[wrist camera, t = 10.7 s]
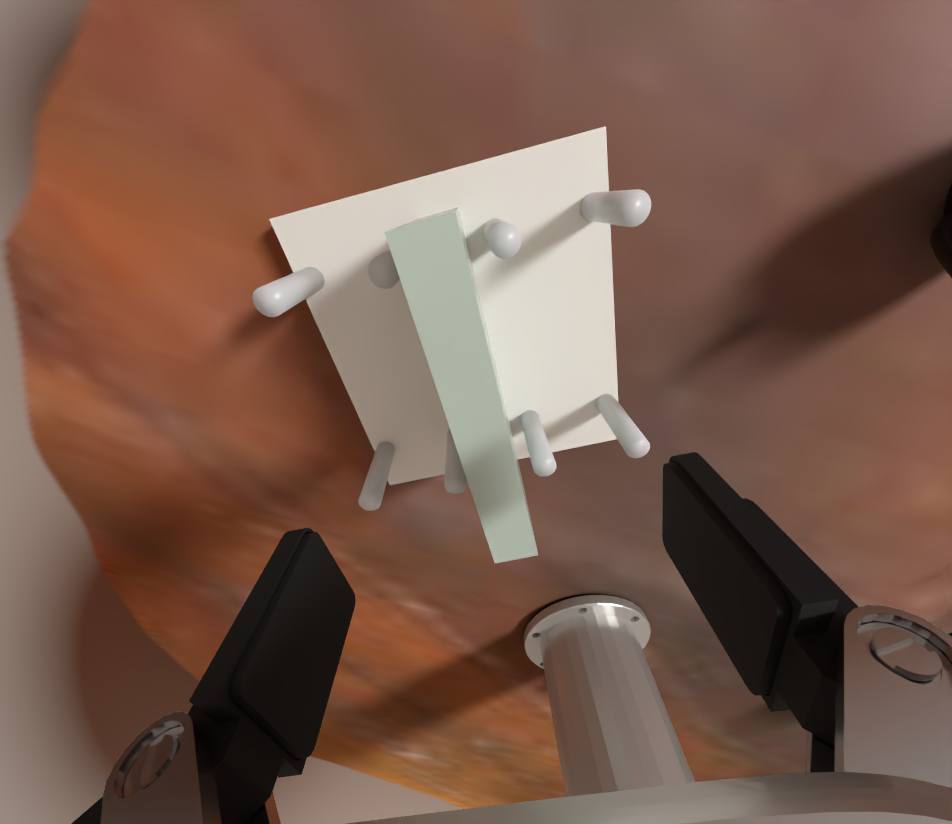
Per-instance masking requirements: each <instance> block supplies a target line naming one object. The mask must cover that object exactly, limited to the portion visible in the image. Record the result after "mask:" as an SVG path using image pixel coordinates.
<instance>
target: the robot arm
mask: <svg viewBox="0 0 952 824" xmlns="http://www.w3.org/2000/svg"><path fill="white" fill-rule="evenodd" d="M662 537H663V543H664V546H665V549H666V551H667V553H668V554H669V556H670V558H671V559H672V561H673V563H674V565H675V566H676V568H677V570H678V571H679V573H680V575H681V576H682V578H683V580H684V581H685V583H686V585H687V586H688V588H689V590H690V592H691V593H692V595H693V597H694V598H695V600H696V602H697V603H698V605H699V607H700V608H701V610H702V612H703V613H704V615H705V617H706V619H707V620H708V622H709V624H710V625H711V627H712V629H713V630H714V632H715V634H716V635H717V637H718V639H719V640H720V642H721V644H722V646H723V647H724V649H725V651H726V652H727V654H728V656H729V657H730V659H731V661H732V662H733V664H734V666H735V667H736V669H737V671H738V673H739V674H740V676H741V678H742V679H743V681H744V683H745V684H746V686H747V687H748V689H749V690H750V691H751V692H752V693H753V694H754V695H761V696H762V698H763V699H764V701H765V703H766V704H767V706H768V707H769V709H770V711H771V712H772V711H779V710H787V709H791V711H792V712H793V714H794V715H795V717H796V719H797V720H798V722H799V723H800V725H801V726H802V728H804V729H805V730H807V744H806V761H805V773H789V774H778V775H768V776H757V777H746V778H735V779H725V780H714V781H703V782H695V780H694V778H693V775H692V773H691V770H690V768H689V765H688V763H687V760H686V758H685V755H684V753H683V750H682V748H681V745H680V743H679V740H678V738H677V736H676V733H675V731H674V728H673V726H672V723H671V721H670V718H669V716H668V713H667V711H666V708H665V706H664V703H663V701H662V698H661V696H660V693H659V691H658V688H657V686H656V683H655V681H654V678H653V676H652V673H651V671H650V668H649V666H648V663H647V661H646V658H645V656H644V653H643V651H642V650H643V648H644V647H645V646H646V644H647V642H648V640H649V638H650V633H651V630H650V625H649V622H648V620H647V618H646V616H645V614H644V612H643V611H642V610H641V609H640V608H639V607H638V606H637V605H635V604H634V603H632V602H630V601H628V600H625V599H623V598H619V597H615V596H608V595H585V596H578V597H573V598H569V599H566V600H563V601H560V602H557V603H555V604H552V605H551V606H549V607H547V608H545V609H543V610H542V611H541V612H539V613H538V614H537V615H536V616H535V617H534V618H533V619H532V620H531V621H530V622H529V623H528V625H527V627H526V629H525V632H524V646H525V651H526V654H527V656H528V657H529V659H530V660H531V661H532V662H533V663H535V664H536V665H537V666H539V667H541V668H543V669H544V672H545V678H546V684H547V690H548V695H549V701H550V707H551V713H552V718H553V724H554V730H555V735H556V741H557V747H558V753H559V758H560V764H561V770H562V776H563V781H564V787H565V793H566V797H562V798H554V799H545V800H537V801H529V802H520V803H512V804H504V805H495V806H487V807H479V808H470V809H462V810H454V811H446V812H437V813H429V814H421V815H413V816H405V817H396V818H389V819H380V820H372V821H364V822H356V823H349V824H952V637H951V636H950V635H949V634H948V633H946V632H945V631H944V630H942V629H941V628H939V627H937V626H935V625H934V624H932V623H930V622H929V621H927V620H925V619H923V618H921V617H919V616H916V615H914V614H911V613H909V612H906V611H904V610H900V609H896V608H892V607H888V606H881V605H865V606H861V607H858V606H857V605H856V604H855V603H854V602H853V601H852V600H851V599H850V598H849V597H848V596H847V595H846V594H845V593H844V592H843V591H842V590H841V589H840V588H839V587H838V586H837V585H836V584H835V583H834V582H833V581H832V580H831V579H830V578H829V577H828V576H827V575H826V574H825V573H824V572H823V571H822V570H821V569H820V568H819V567H818V566H817V565H816V564H815V563H814V562H813V561H812V560H811V559H810V558H809V557H808V556H807V555H806V554H805V553H804V552H803V551H802V550H801V549H800V548H799V547H798V546H797V545H796V544H795V543H794V542H793V541H792V540H791V539H790V538H789V537H788V536H787V535H786V534H785V533H784V532H783V531H782V530H781V529H780V528H779V527H778V526H777V525H776V524H775V523H774V522H773V521H772V520H771V519H770V518H769V517H768V516H767V515H766V514H765V513H764V512H763V511H762V510H761V509H760V508H759V507H758V506H757V505H756V504H755V503H754V502H752V501H751V500H749V499H742V498H741V497H740V496H739V495H738V494H737V493H736V492H735V491H734V490H733V489H732V488H731V487H730V486H729V485H728V484H727V483H726V482H725V481H724V480H723V479H722V478H721V476H720V475H719V474H718V473H717V472H716V471H715V470H714V469H713V468H712V467H711V466H710V465H709V464H708V463H707V462H706V461H705V460H704V459H703V458H702V457H701V456H700V455H699V454H698V453H696V452H692V453H687V454H682V455H677V456H672V457H671V458H670V460H669V463H666V464H664V466H663V534H662ZM354 607H355V594H354V592H353V590H352V588H351V587H350V585H349V583H348V582H347V580H346V578H345V577H344V575H343V573H342V572H341V570H340V568H339V567H338V565H337V563H336V562H335V560H334V558H333V557H332V555H331V553H330V552H329V550H328V548H327V547H326V545H325V543H324V542H323V540H322V538H321V537H320V535H319V534H318V533H317V532H313V531H312V529H310V528H304V529H299V530H294V531H288V532H287V533H285V534H284V535H283V537H282V539H281V540H280V542H279V544H278V546H277V547H276V549H275V551H274V553H273V554H272V556H271V558H270V560H269V561H268V563H267V565H266V567H265V568H264V570H263V572H262V574H261V576H260V577H259V579H258V581H257V583H256V584H255V586H254V588H253V590H252V591H251V593H250V595H249V597H248V598H247V600H246V602H245V604H244V605H243V607H242V609H241V611H240V612H239V614H238V616H237V618H236V619H235V621H234V623H233V625H232V626H231V628H230V630H229V632H228V634H227V635H226V637H225V639H224V641H223V642H222V644H221V646H220V648H219V649H218V651H217V653H216V655H215V656H214V658H213V660H212V662H211V663H210V665H209V667H208V669H207V670H206V672H205V674H204V676H203V677H202V679H201V681H200V683H199V684H198V686H197V688H196V690H195V691H194V693H193V695H192V697H191V699H190V700H189V701H190V702H191V703H192V704H193V706H192V708H191V709H190V711H189V713H188V714H187V713H185V712H173V713H171V714H168V715H165V716H163V717H161V718H160V719H158V720H156V721H155V722H153V723H152V724H150V725H149V726H148V727H147V728H146V729H145V730H143V731H142V732H141V733H140V734H139V735H138V736H137V737H136V738H135V739H134V740H133V741H132V742H131V743H130V744H129V746H128V747H127V748H126V749H125V750H124V751H123V753H122V754H121V756H120V757H119V759H118V760H117V762H116V763H115V765H114V766H113V768H112V771H111V772H110V775H109V777H108V779H107V781H106V785H105V789H104V793H103V797H102V798H101V799H100V800H98V801H97V802H96V803H95V804H94V805H93V806H91V807H90V808H89V809H88V810H87V811H86V812H84V813H83V814H82V815H81V816H80V817H79V818H77V819H76V820H75V821H74V822H73V823H72V824H281V823H280V819H279V816H278V812H277V808H276V804H275V800H274V796H273V792H272V791H273V788H274V785H275V782H276V779H277V776H278V777H285V776H294V775H301V774H302V771H303V768H304V765H305V761H306V758H307V757H309V756H310V755H311V754H312V752H313V750H314V747H315V744H316V741H317V737H318V734H319V730H320V727H321V723H322V720H323V716H324V713H325V709H326V706H327V702H328V699H329V695H330V692H331V688H332V685H333V681H334V678H335V674H336V671H337V667H338V664H339V660H340V657H341V653H342V649H343V646H344V642H345V639H346V635H347V632H348V628H349V625H350V621H351V618H352V614H353V611H354Z"/></svg>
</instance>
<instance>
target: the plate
mask: <svg viewBox="0 0 952 824" xmlns="http://www.w3.org/2000/svg"><path fill="white" fill-rule="evenodd" d="M384 233H385V236H386V239H387V242H388V245H389V248H390V251H391V254H392V257H393V260H394V263H395V266H396V269H397V272H398V275H399V278H400V281H401V284H402V287H403V290H404V293H405V296H406V299H407V302H408V305H409V308H410V311H411V314H412V317H413V320H414V323H415V326H416V329H417V332H418V334H419V337H420V340H421V343H422V346H423V349H424V352H425V355H426V358H427V361H428V364H429V367H430V370H431V373H432V376H433V379H434V382H435V385H436V388H437V391H438V394H439V397H440V400H441V403H442V406H443V409H444V412H445V415H446V418H447V421H448V424H449V427H450V430H451V433H452V436H453V439H454V442H455V445H456V448H457V451H458V454H459V457H460V460H461V463H462V466H463V469H464V472H465V475H466V478H467V481H468V484H469V487H470V490H471V493H472V496H473V499H474V502H475V505H476V508H477V511H478V514H479V517H480V520H481V523H482V526H483V529H484V532H485V535H486V538H487V541H488V544H489V547H490V550H491V553H492V556H493V559H494V562H495V563H500V562H505V561H510V560H515V559H521V558H526V557H531V556H536V555H538V551H537V547H536V542H535V537H534V533H533V528H532V523H531V519H530V514H529V509H528V505H527V500H526V495H525V491H524V486H523V481H522V477H521V472H520V468H519V463H518V458H517V454H516V449H515V444H514V440H513V436H512V431H511V427H510V423H509V419H508V414H507V410H506V406H505V402H504V398H503V393H502V389H501V385H500V381H499V376H498V372H497V368H496V364H495V359H494V355H493V351H492V347H491V343H490V338H489V334H488V330H487V326H486V321H485V317H484V313H483V309H482V304H481V300H480V296H479V292H478V288H477V283H476V279H475V275H474V271H473V266H472V262H471V258H470V254H469V249H468V245H467V241H466V237H465V233H464V228H463V224H462V220H461V216H460V211H459V207H457V208H454V209H450V210H447V211H443V212H440V213H436V214H433V215H429V216H425V217H422V218H418V219H416V220H413V221H411V222H408V223H406V224H403V225H401V226H399V227H396V228H394V229H391V230H389V231H386V232H384Z"/></svg>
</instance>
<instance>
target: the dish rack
mask: <svg viewBox="0 0 952 824" xmlns="http://www.w3.org/2000/svg"><path fill="white" fill-rule="evenodd" d="M457 207H459V211H460V216H461V220H462V224H463V228H464V233H465V237H466V241H467V245H468V249H469V254H470V258H471V262H472V266H473V271H474V275H475V279H476V283H477V288H478V292H479V296H480V300H481V304H482V309H483V313H484V317H485V321H486V326H487V330H488V334H489V338H490V343H491V347H492V351H493V355H494V359H495V364H496V368H497V372H498V376H499V381H500V385H501V389H502V393H503V398H504V402H505V406H506V410H507V414H508V419H509V423H510V427H511V431H512V436H513V440H514V444H515V449H516V454H517V458H518V459H522V458H526V457H530V458H531V462H532V466H533V470H534V472H535V473H536V474H537V475H539V476H549V475H551V474H552V473H553V472H554V471H555V470H556V462H555V460H554V457H553V454H552V452H556V451H561V450H566V449H570V448H575V447H580V446H585V445H590V444H595V443H600V442H605V441H610V440H615V439H618V441H619V442H620V444H621V445H622V447H623V449H624V450H625V452H626V453H627V455H628V456H629V457H632V458H640V457H642V456H644V455H645V454H647V452H648V451H649V449H650V443H649V442H648V441H647V439H646V438H645V437H644V435H643V434H642V433H641V431H640V430H639V429H638V428H637V426H636V425H635V424H634V422H633V421H632V420H631V419H630V417H629V416H628V415H627V413H626V412H625V411H624V409H623V408H622V407H621V406H620V404H619V403H618V386H617V364H616V341H615V319H614V297H613V275H612V252H611V230H610V224H613V225H620V226H626V227H635V226H638V225H640V224H641V223H642V222H644V221H645V219H646V218H647V217H648V215H649V213H650V209H651V200H650V197H649V195H648V194H647V193H646V192H645V191H643V190H623V191H609V186H608V163H607V141H606V126H605V127H602V128H598V129H594V130H591V131H587V132H583V133H580V134H576V135H573V136H569V137H565V138H562V139H558V140H554V141H551V142H547V143H544V144H540V145H536V146H533V147H529V148H525V149H522V150H518V151H514V152H511V153H507V154H504V155H500V156H496V157H493V158H489V159H485V160H482V161H478V162H475V163H471V164H467V165H464V166H460V167H456V168H453V169H449V170H446V171H442V172H438V173H435V174H431V175H427V176H424V177H420V178H416V179H413V180H409V181H406V182H402V183H398V184H395V185H391V186H387V187H384V188H380V189H377V190H373V191H369V192H366V193H362V194H358V195H355V196H351V197H348V198H344V199H340V200H337V201H333V202H329V203H326V204H322V205H318V206H315V207H311V208H308V209H304V210H300V211H297V212H293V213H289V214H286V215H282V216H279V217H275V218H271V219H269V220H270V222H271V224H272V226H273V229H274V231H275V233H276V235H277V238H278V240H279V242H280V244H281V246H282V249H283V251H284V253H285V255H286V257H287V260H288V262H289V264H290V266H291V268H292V271H293V273H292V274H290V275H287V276H285V277H283V278H280V279H278V280H276V281H273V282H271V283H268V284H266V285H264V286H261V287H259V288H257V289H256V290H255V291H254V293H253V303H254V306H255V307H256V309H257V310H258V311H259V312H260V313H262V314H263V315H265V316H268V317H277V316H279V315H281V314H282V313H284V312H285V311H287V310H289V309H290V308H292V307H293V306H295V305H297V304H298V303H300V302H301V301H303V300H305V299H306V301H307V304H308V306H309V308H310V310H311V312H312V315H313V317H314V319H315V321H316V324H317V326H318V328H319V330H320V332H321V335H322V337H323V339H324V341H325V343H326V346H327V348H328V350H329V352H330V354H331V357H332V359H333V361H334V363H335V365H336V368H337V370H338V372H339V374H340V376H341V379H342V381H343V383H344V385H345V387H346V390H347V392H348V394H349V396H350V399H351V401H352V403H353V405H354V407H355V410H356V412H357V414H358V416H359V418H360V421H361V423H362V425H363V427H364V429H365V432H366V434H367V436H368V438H369V440H370V443H371V445H372V447H373V449H374V451H375V454H374V457H373V460H372V463H371V465H370V468H369V471H368V474H367V477H366V480H365V483H364V486H363V489H362V491H361V494H360V497H359V500H358V503H359V505H360V507H361V508H363V509H365V510H368V511H374V510H377V509H378V508H379V507H380V505H381V502H382V498H383V494H384V491H385V487H386V483H387V480H388V482H389V485H394V484H399V483H404V482H409V481H414V480H419V479H424V478H429V477H433V476H438V475H443V474H445V479H444V487H445V489H446V491H448V492H449V493H452V494H459V493H462V492H463V491H464V490H465V489H466V487H467V478H466V475H465V472H464V469H463V466H462V463H461V460H460V457H459V454H458V451H457V448H456V445H455V442H454V439H453V436H452V433H451V430H450V427H449V424H448V421H447V418H446V415H445V412H444V409H443V406H442V403H441V400H440V397H439V394H438V391H437V388H436V385H435V382H434V379H433V376H432V373H431V370H430V367H429V364H428V361H427V358H426V355H425V352H424V349H423V346H422V343H421V340H420V337H419V334H418V332H417V329H416V326H415V323H414V320H413V317H412V314H411V311H410V308H409V305H408V302H407V299H406V296H405V293H404V290H403V287H402V284H401V281H400V278H399V275H398V272H397V269H396V266H395V263H394V260H393V257H392V254H391V251H390V248H389V245H388V242H387V239H386V236H385V233H384V232H386V231H389V230H391V229H394V228H396V227H399V226H401V225H403V224H406V223H408V222H411V221H413V220H416V219H418V218H422V217H425V216H429V215H433V214H436V213H440V212H443V211H447V210H450V209H454V208H457Z"/></svg>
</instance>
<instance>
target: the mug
mask: <svg viewBox="0 0 952 824" xmlns="http://www.w3.org/2000/svg"><path fill="white" fill-rule="evenodd" d="M930 243H931V246H932V249H933V251H934V254H935V256H936V258H937V259H938V261H939V262H940V263H941V265H942V266H943V267H944V269H945V270H946V271H947V273H948V274H949V275H950V276H951V278H952V187H951V189H950V191H949V194H948V197H947V201H946V206H945V218H944V219H943V220H941V221H940V222H939V223H938V224H937V225H936V226H935V227H934V228H933V230H932V234H931V238H930Z"/></svg>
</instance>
